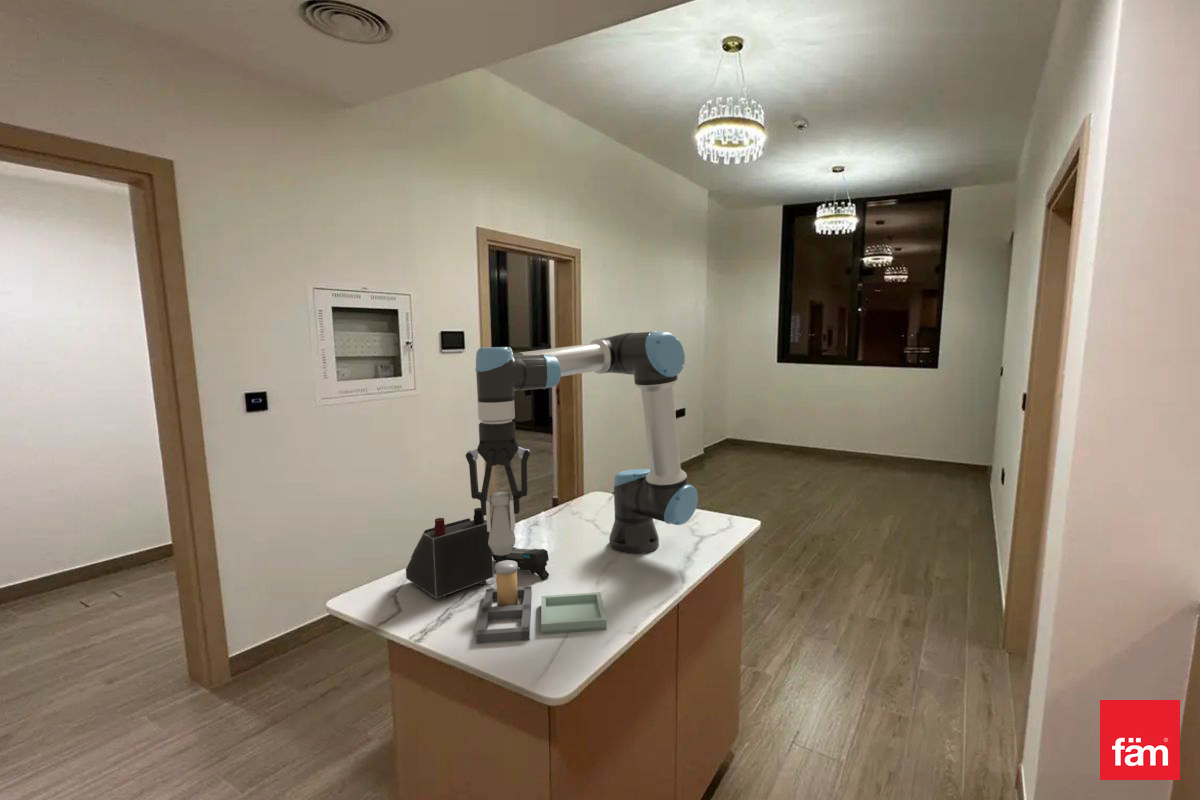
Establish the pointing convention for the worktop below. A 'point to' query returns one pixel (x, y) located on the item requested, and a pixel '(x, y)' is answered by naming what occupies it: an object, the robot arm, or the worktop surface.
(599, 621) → the tray
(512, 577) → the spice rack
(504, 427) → the robot arm
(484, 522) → the voltmeter
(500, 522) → the salt shaker
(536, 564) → the gun
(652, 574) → the worktop surface
